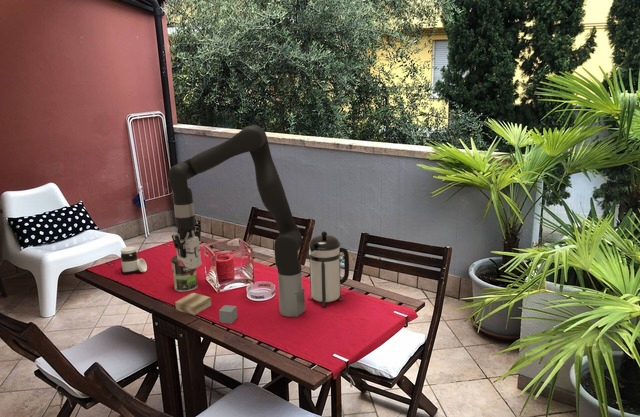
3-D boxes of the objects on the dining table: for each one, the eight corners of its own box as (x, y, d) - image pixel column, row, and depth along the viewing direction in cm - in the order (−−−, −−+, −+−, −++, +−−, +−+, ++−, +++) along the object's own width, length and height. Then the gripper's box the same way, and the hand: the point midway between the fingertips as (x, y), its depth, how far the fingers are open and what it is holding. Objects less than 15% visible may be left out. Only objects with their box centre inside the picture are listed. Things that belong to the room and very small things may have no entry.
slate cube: (237, 318, 200) (236, 306, 198) (231, 324, 195) (230, 312, 194) (225, 316, 201) (224, 305, 200) (219, 322, 196) (218, 310, 195)
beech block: (211, 306, 211) (210, 297, 210) (194, 316, 203) (193, 306, 202) (193, 301, 216) (192, 292, 215) (176, 310, 208) (175, 301, 207)
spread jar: (121, 269, 254) (118, 247, 251) (145, 265, 258) (142, 243, 255) (123, 277, 243) (120, 254, 240) (148, 273, 248) (145, 250, 245)
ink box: (177, 266, 205) (174, 237, 202) (185, 262, 209) (183, 234, 206) (193, 269, 201) (191, 240, 198) (202, 265, 205) (199, 236, 202)
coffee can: (202, 285, 231) (199, 256, 227) (184, 293, 223) (181, 263, 219) (188, 280, 237) (185, 252, 233) (169, 288, 229) (166, 258, 225)
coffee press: (343, 309, 204) (342, 238, 196) (304, 306, 207) (301, 236, 200) (349, 291, 221) (348, 225, 213) (313, 289, 224) (311, 223, 216)
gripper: (178, 220, 191) (182, 262, 196) (204, 210, 203) (208, 251, 208) (164, 217, 195) (168, 259, 199) (190, 208, 207) (194, 248, 211)
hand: (188, 255), depth 204 cm, fingers closed on ink box, 5 cm apart
